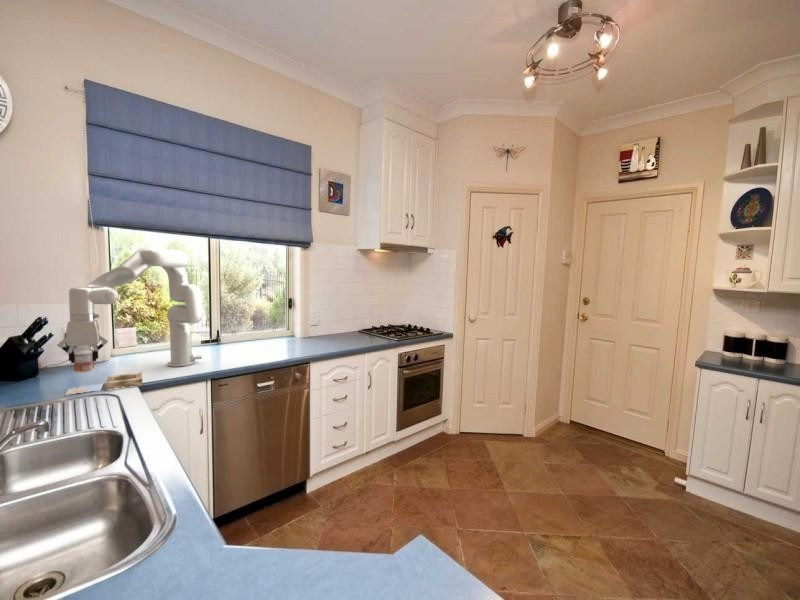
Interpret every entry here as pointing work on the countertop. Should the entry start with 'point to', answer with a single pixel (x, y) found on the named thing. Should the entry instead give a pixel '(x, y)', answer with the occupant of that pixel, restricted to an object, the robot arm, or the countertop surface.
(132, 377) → the holder block
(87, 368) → the pill bottle
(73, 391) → the cream pad
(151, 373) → the countertop surface
